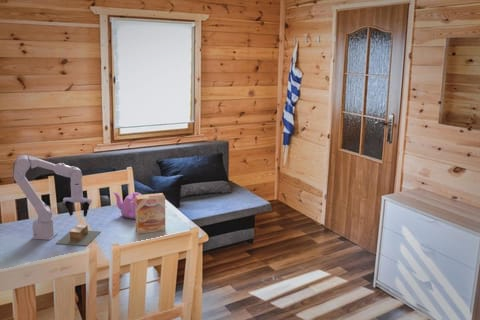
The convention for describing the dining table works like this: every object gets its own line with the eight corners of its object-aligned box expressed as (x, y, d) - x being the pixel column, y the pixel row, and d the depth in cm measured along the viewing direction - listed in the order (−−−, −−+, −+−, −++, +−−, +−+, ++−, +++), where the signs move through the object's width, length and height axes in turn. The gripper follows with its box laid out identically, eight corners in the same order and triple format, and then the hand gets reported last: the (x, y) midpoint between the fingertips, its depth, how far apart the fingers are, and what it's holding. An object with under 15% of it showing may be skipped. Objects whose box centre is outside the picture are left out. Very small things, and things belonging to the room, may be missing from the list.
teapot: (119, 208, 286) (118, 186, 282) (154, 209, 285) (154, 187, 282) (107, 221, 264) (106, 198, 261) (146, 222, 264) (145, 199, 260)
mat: (55, 244, 233) (55, 243, 233) (72, 230, 251) (71, 229, 251) (86, 246, 232) (86, 245, 232) (100, 232, 249) (100, 231, 249)
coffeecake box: (137, 234, 248) (136, 199, 243) (135, 229, 254) (134, 195, 249) (165, 230, 253) (165, 196, 249) (162, 226, 260) (162, 192, 255)
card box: (78, 233, 246) (78, 224, 245) (88, 233, 246) (87, 224, 245) (70, 240, 237) (69, 231, 235) (79, 241, 236) (79, 232, 235)
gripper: (59, 192, 240) (61, 217, 243) (87, 193, 238) (88, 219, 242) (66, 188, 246) (67, 212, 250) (92, 189, 245) (94, 214, 248)
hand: (78, 215), depth 246 cm, fingers open, 7 cm apart
